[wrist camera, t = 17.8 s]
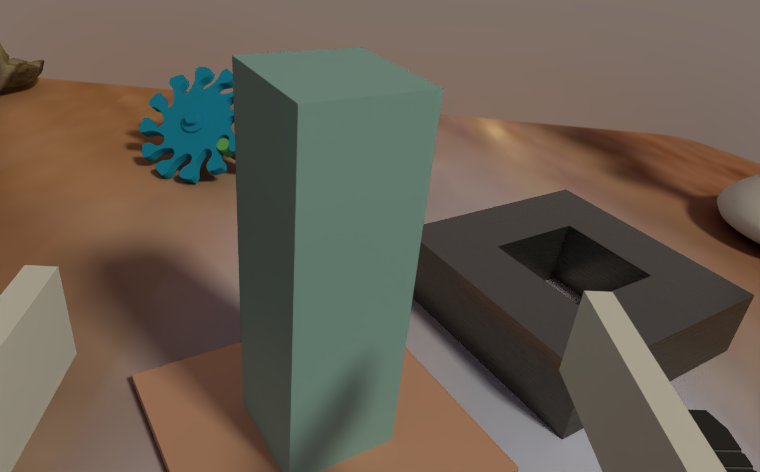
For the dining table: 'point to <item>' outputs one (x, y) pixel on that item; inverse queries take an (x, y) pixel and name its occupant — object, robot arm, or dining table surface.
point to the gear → (193, 126)
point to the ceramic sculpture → (17, 71)
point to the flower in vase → (742, 206)
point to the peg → (328, 243)
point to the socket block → (553, 309)
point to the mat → (248, 449)
